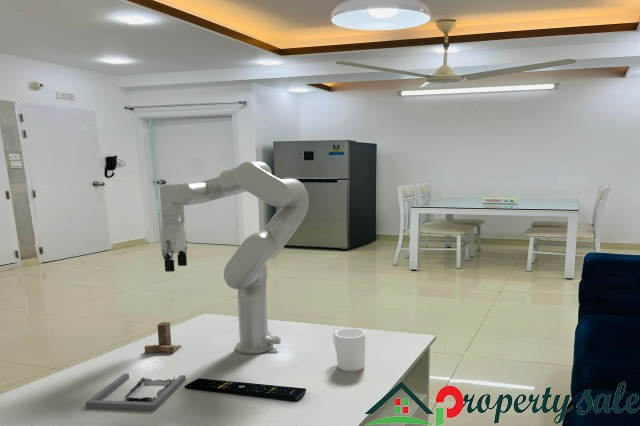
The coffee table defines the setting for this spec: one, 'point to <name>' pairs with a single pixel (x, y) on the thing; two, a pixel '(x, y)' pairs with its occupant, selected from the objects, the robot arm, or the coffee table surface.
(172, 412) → the coffee table surface
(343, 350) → the mug
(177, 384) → the bay
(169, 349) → the tan l-shaped bracket
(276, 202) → the robot arm
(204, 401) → the coffee table surface
